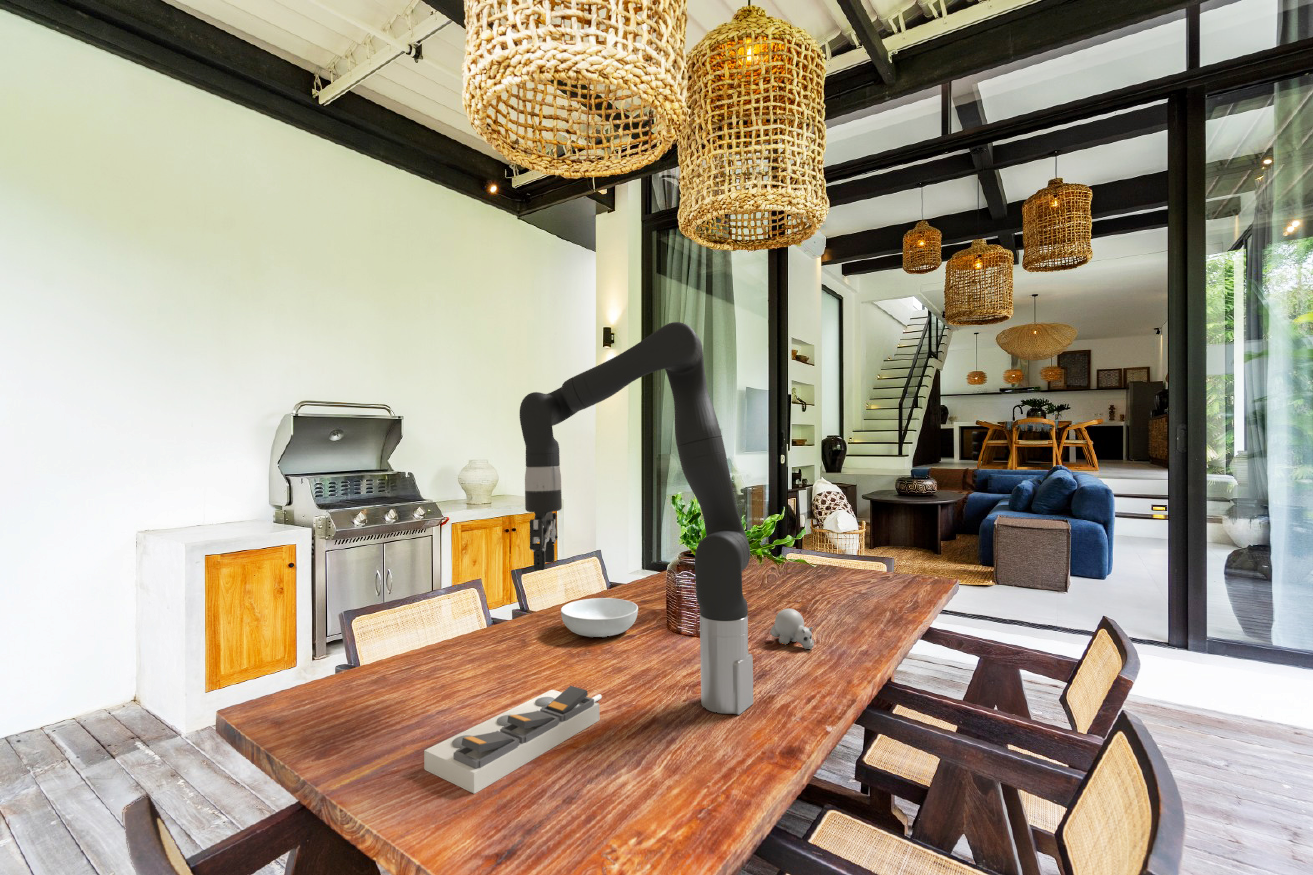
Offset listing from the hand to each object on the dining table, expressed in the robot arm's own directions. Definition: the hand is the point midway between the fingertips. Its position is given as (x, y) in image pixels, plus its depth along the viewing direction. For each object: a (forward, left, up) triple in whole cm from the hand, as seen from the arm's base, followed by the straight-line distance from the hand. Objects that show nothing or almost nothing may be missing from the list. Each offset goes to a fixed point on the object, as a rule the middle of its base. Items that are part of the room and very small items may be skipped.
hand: (544, 565), depth 125 cm
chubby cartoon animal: (-33, -53, -26) cm, 68 cm away
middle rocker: (-16, +19, -21) cm, 32 cm away
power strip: (-13, +16, -25) cm, 33 cm away
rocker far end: (-16, +28, -21) cm, 39 cm away
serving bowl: (+15, -35, -26) cm, 46 cm away
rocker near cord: (-16, +10, -21) cm, 28 cm away
